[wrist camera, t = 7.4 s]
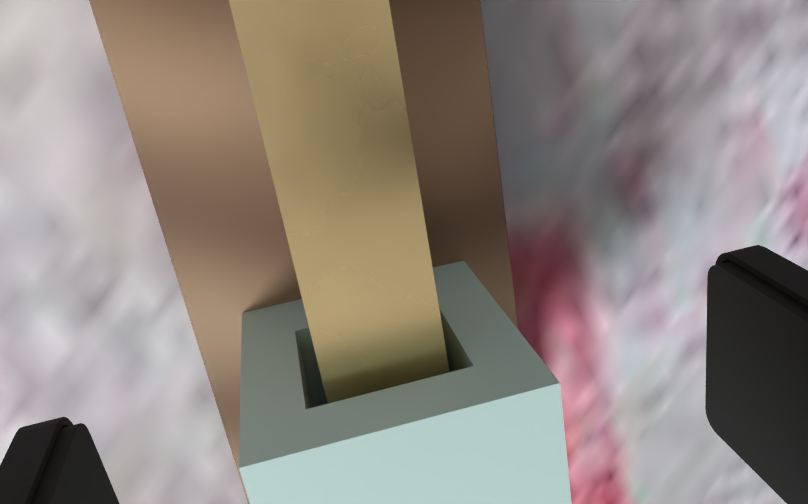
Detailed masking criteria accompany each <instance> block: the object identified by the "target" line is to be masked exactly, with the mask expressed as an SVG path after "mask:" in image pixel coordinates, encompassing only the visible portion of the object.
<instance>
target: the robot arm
mask: <svg viewBox="0 0 808 504" xmlns="http://www.w3.org/2000/svg"><path fill="white" fill-rule="evenodd" d="M706 414H707V418H708V421H709V423H710V425H711V427H712V428H713V430H714V431H715V432H716V433H717V434H718V435H719V436H720V437H721V438H722V439H723V440H724V441H725V442H726V443H727V444H728V445H729V446H730V447H731V448H732V449H733V450H734V451H735V452H736V453H737V454H738V455H739V456H740V457H741V458H742V459H743V460H744V461H745V462H746V463H747V464H748V465H749V466H750V467H751V468H752V469H753V470H754V471H755V472H756V473H757V474H758V475H759V476H760V477H761V478H762V479H763V480H764V481H765V482H766V483H767V484H768V485H769V486H770V487H771V488H772V489H773V490H774V491H775V492H776V493H777V494H778V495H779V496H780V497H781V498H782V499H783V500H784V501H785V502H786V503H787V504H808V271H807V270H806V269H804V268H802V267H800V266H798V265H796V264H795V263H793V262H791V261H789V260H787V259H785V258H783V257H782V256H780V255H778V254H776V253H774V252H772V251H771V250H769V249H767V248H765V247H763V246H760V245H756V246H751V247H747V248H743V249H739V250H735V251H731V252H727V253H723V254H721V255H720V256H719V257H718V259H717V261H716V265H713V266H712V267H711V268H710V269H709V271H708V285H707V349H706ZM0 504H119V502H118V499H117V497H116V494H115V492H114V490H113V487H112V485H111V483H110V480H109V478H108V475H107V473H106V471H105V468H104V466H103V463H102V461H101V459H100V456H99V454H98V452H97V449H96V447H95V444H94V442H93V440H92V437H91V435H90V433H89V431H88V429H87V427H86V426H85V425H84V424H82V423H80V424H76V425H73V424H72V422H71V421H70V420H69V419H68V418H66V417H61V418H57V419H53V420H49V421H45V422H41V423H37V424H33V425H29V426H25V427H22V428H19V430H18V431H17V432H16V434H15V436H14V438H13V440H12V442H11V444H10V446H9V449H8V451H7V453H6V455H5V457H4V459H3V461H2V463H1V465H0Z"/></svg>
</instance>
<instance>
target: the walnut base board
mask: <svg viewBox="0 0 808 504" xmlns="http://www.w3.org/2000/svg"><path fill="white" fill-rule="evenodd" d="M89 1H90V4H91V7H92V11H93V14H94V17H95V20H96V23H97V26H98V30H99V33H100V36H101V39H102V42H103V45H104V48H105V52H106V55H107V58H108V61H109V64H110V67H111V71H112V74H113V77H114V80H115V83H116V86H117V90H118V93H119V96H120V99H121V102H122V105H123V109H124V112H125V115H126V118H127V121H128V124H129V128H130V131H131V134H132V137H133V140H134V143H135V147H136V150H137V153H138V156H139V159H140V162H141V166H142V169H143V172H144V175H145V178H146V181H147V185H148V188H149V191H150V194H151V197H152V200H153V204H154V207H155V210H156V213H157V216H158V219H159V223H160V226H161V229H162V232H163V235H164V238H165V242H166V245H167V248H168V251H169V254H170V257H171V261H172V264H173V267H174V270H175V273H176V276H177V279H178V283H179V286H180V289H181V292H182V295H183V298H184V302H185V305H186V308H187V311H188V314H189V317H190V321H191V324H192V327H193V330H194V333H195V336H196V340H197V343H198V346H199V349H200V352H201V355H202V359H203V362H204V365H205V368H206V371H207V374H208V378H209V381H210V384H211V387H212V390H213V393H214V397H215V400H216V403H217V406H218V409H219V412H220V416H221V419H222V422H223V425H224V428H225V431H226V435H227V438H228V441H229V444H230V447H231V450H232V454H233V457H234V460H235V463H236V466H237V469H238V473H239V476H240V479H241V482H242V485H243V488H244V492H245V495H246V498H247V501H248V504H250V502H249V499H248V496H247V493H246V490H245V486H244V483H243V480H242V477H241V474H240V471H239V432H240V382H241V332H242V313H245V312H249V311H253V310H257V309H262V308H266V307H270V306H274V305H278V304H283V303H287V302H291V301H295V300H299V299H302V297H301V293H300V288H299V284H298V280H297V276H296V272H295V268H294V264H293V260H292V256H291V252H290V248H289V244H288V239H287V235H286V231H285V227H284V223H283V219H282V215H281V211H280V207H279V203H278V199H277V195H276V191H275V186H274V182H273V178H272V174H271V170H270V166H269V162H268V158H267V154H266V150H265V146H264V142H263V137H262V133H261V129H260V125H259V121H258V117H257V113H256V109H255V105H254V101H253V97H252V93H251V89H250V84H249V80H248V76H247V72H246V68H245V64H244V60H243V56H242V52H241V48H240V44H239V40H238V35H237V31H236V27H235V23H234V19H233V15H232V11H231V7H230V3H229V0H89ZM389 5H390V11H391V17H392V23H393V29H394V35H395V41H396V47H397V54H398V60H399V66H400V72H401V78H402V84H403V90H404V96H405V102H406V109H407V115H408V121H409V127H410V133H411V139H412V145H413V151H414V157H415V163H416V170H417V176H418V182H419V188H420V194H421V200H422V206H423V212H424V218H425V224H426V231H427V237H428V243H429V249H430V255H431V261H432V267H433V268H434V267H438V266H443V265H447V264H451V263H455V262H459V261H465V263H466V264H467V265H468V266H469V268H470V269H471V270H472V272H473V273H474V274H475V275H476V277H477V278H478V279H479V280H480V282H481V283H482V284H483V286H484V287H485V288H486V289H487V291H488V292H489V293H490V294H491V296H492V297H493V298H494V300H495V301H496V302H497V303H498V305H499V306H500V307H501V309H502V310H503V311H504V312H505V314H506V315H507V316H508V317H509V319H510V320H511V321H512V323H513V324H514V325H515V326H516V328H517V329H518V321H517V313H516V304H515V296H514V287H513V279H512V270H511V262H510V253H509V245H508V236H507V228H506V219H505V211H504V202H503V194H502V185H501V177H500V168H499V160H498V151H497V143H496V134H495V126H494V117H493V109H492V100H491V92H490V83H489V75H488V66H487V58H486V49H485V41H484V32H483V24H482V15H481V7H480V0H389Z"/></svg>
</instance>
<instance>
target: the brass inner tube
mask: <svg viewBox="0 0 808 504" xmlns="http://www.w3.org/2000/svg"><path fill="white" fill-rule="evenodd" d="M229 3H230V7H231V11H232V15H233V19H234V23H235V27H236V31H237V35H238V40H239V44H240V48H241V52H242V56H243V60H244V64H245V68H246V72H247V76H248V80H249V84H250V89H251V93H252V97H253V101H254V105H255V109H256V113H257V117H258V121H259V125H260V129H261V133H262V137H263V142H264V146H265V150H266V154H267V158H268V162H269V166H270V170H271V174H272V178H273V182H274V186H275V191H276V195H277V199H278V203H279V207H280V211H281V215H282V219H283V223H284V227H285V231H286V235H287V239H288V244H289V248H290V252H291V256H292V260H293V264H294V268H295V272H296V276H297V280H298V284H299V288H300V293H301V297H302V301H303V305H304V309H305V313H306V317H307V321H308V325H309V329H310V333H311V337H312V341H313V346H314V350H315V354H316V358H317V362H318V366H319V370H320V374H321V378H322V382H323V386H324V390H325V395H326V399H327V403H328V404H329V403H333V402H336V401H340V400H344V399H348V398H352V397H356V396H360V395H364V394H368V393H371V392H375V391H379V390H383V389H387V388H391V387H395V386H399V385H402V384H406V383H410V382H414V381H418V380H422V379H426V378H430V377H433V376H437V375H441V374H445V373H449V372H450V371H449V365H448V359H447V353H446V347H445V340H444V334H443V328H442V322H441V316H440V310H439V304H438V298H437V292H436V285H435V279H434V273H433V267H432V261H431V255H430V249H429V243H428V237H427V231H426V224H425V218H424V212H423V206H422V200H421V194H420V188H419V182H418V176H417V170H416V163H415V157H414V151H413V145H412V139H411V133H410V127H409V121H408V115H407V109H406V102H405V96H404V90H403V84H402V78H401V72H400V66H399V60H398V54H397V47H396V41H395V35H394V29H393V23H392V17H391V11H390V5H389V0H229Z"/></svg>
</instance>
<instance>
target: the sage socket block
mask: <svg viewBox="0 0 808 504" xmlns="http://www.w3.org/2000/svg"><path fill="white" fill-rule="evenodd" d="M433 273H434V279H435V285H436V292H437V298H438V304H439V310H440V316H441V322H442V328H443V334H444V340H445V347H446V353H447V359H448V365H449V371H450V372H449V373H445V374H441V375H437V376H433V377H430V378H426V379H422V380H418V381H414V382H410V383H406V384H402V385H399V386H395V387H391V388H387V389H383V390H379V391H375V392H371V393H368V394H364V395H360V396H356V397H352V398H348V399H344V400H340V401H336V402H333V403H329V404H328V403H327V399H326V395H325V390H324V386H323V382H322V378H321V374H320V370H319V366H318V362H317V358H316V354H315V350H314V346H313V341H312V337H311V333H310V329H309V325H308V321H307V317H306V313H305V309H304V305H303V301H302V299H299V300H295V301H291V302H287V303H283V304H278V305H274V306H270V307H266V308H262V309H257V310H253V311H249V312H245V313H242V332H241V382H240V432H239V471H240V474H241V477H242V480H243V483H244V486H245V490H246V493H247V496H248V499H249V502H250V504H571V494H570V483H569V473H568V463H567V452H566V442H565V431H564V421H563V410H562V400H561V389H560V382H559V381H558V380H557V379H556V377H555V376H554V375H553V374H552V372H551V371H550V370H549V368H548V367H547V366H546V365H545V363H544V362H543V361H542V360H541V358H540V357H539V356H538V354H537V353H536V352H535V351H534V349H533V348H532V347H531V346H530V344H529V343H528V342H527V340H526V339H525V338H524V337H523V335H522V334H521V333H520V331H519V330H518V329H517V328H516V326H515V325H514V324H513V323H512V321H511V320H510V319H509V317H508V316H507V315H506V314H505V312H504V311H503V310H502V309H501V307H500V306H499V305H498V303H497V302H496V301H495V300H494V298H493V297H492V296H491V294H490V293H489V292H488V291H487V289H486V288H485V287H484V286H483V284H482V283H481V282H480V280H479V279H478V278H477V277H476V275H475V274H474V273H473V272H472V270H471V269H470V268H469V266H468V265H467V264H466V263H465V261H459V262H455V263H451V264H447V265H443V266H438V267H434V268H433Z"/></svg>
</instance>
